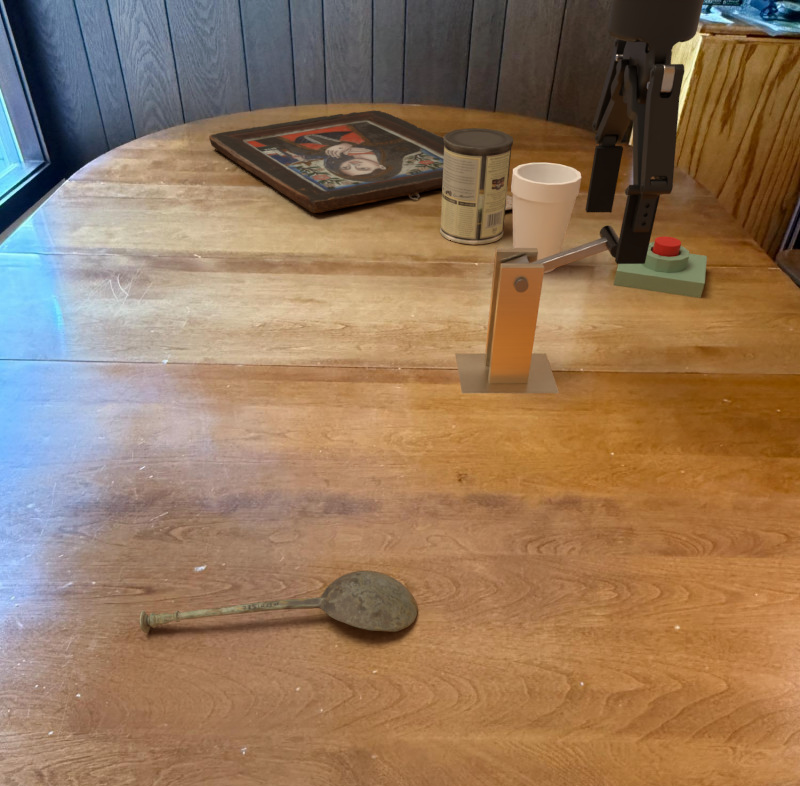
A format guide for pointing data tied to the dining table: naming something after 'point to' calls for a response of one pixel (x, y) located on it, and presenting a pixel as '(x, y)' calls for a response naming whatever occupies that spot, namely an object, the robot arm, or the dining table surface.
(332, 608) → the soupspoon
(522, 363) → the bracket
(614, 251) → the lever
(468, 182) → the coffee can
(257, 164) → the religious icon
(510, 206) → the flatbread
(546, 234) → the foam cup
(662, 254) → the button
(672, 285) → the button box
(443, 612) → the dining table surface
